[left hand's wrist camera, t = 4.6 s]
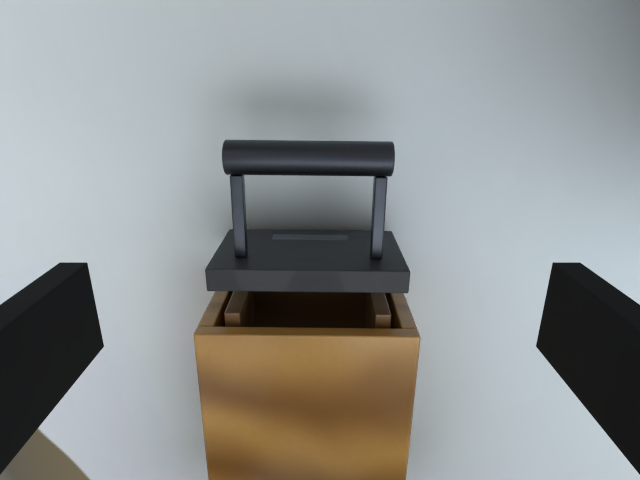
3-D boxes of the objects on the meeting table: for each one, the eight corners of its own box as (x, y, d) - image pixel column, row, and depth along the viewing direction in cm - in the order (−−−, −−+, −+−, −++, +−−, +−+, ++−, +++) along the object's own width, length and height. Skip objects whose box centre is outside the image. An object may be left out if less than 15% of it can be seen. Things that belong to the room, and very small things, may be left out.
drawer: (223, 129, 25) (194, 145, 19) (398, 132, 25) (421, 147, 19) (243, 450, 33) (227, 527, 27) (376, 451, 33) (387, 529, 27)
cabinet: (226, 269, 29) (193, 334, 21) (395, 271, 29) (420, 337, 21) (240, 481, 35) (219, 588, 28) (379, 483, 35) (394, 590, 28)
